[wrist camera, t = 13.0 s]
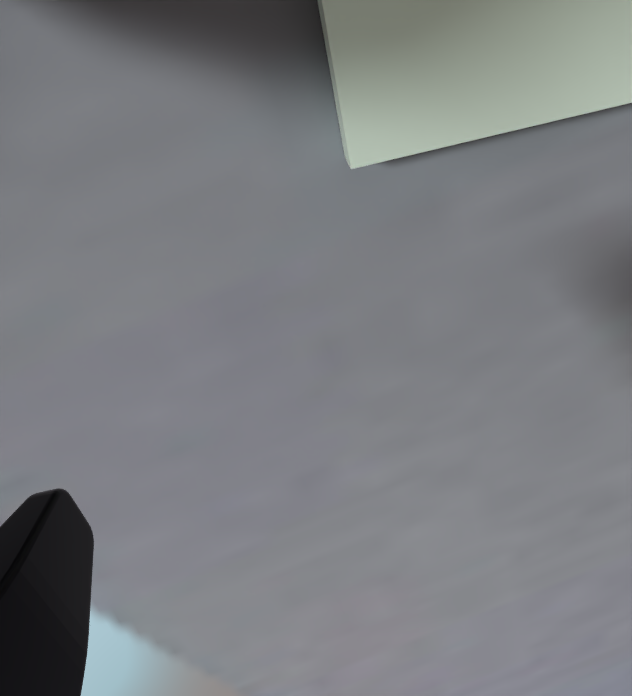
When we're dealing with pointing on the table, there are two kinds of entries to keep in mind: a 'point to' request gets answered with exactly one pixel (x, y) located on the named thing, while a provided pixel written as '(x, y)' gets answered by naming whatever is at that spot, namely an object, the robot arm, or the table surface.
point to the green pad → (469, 68)
